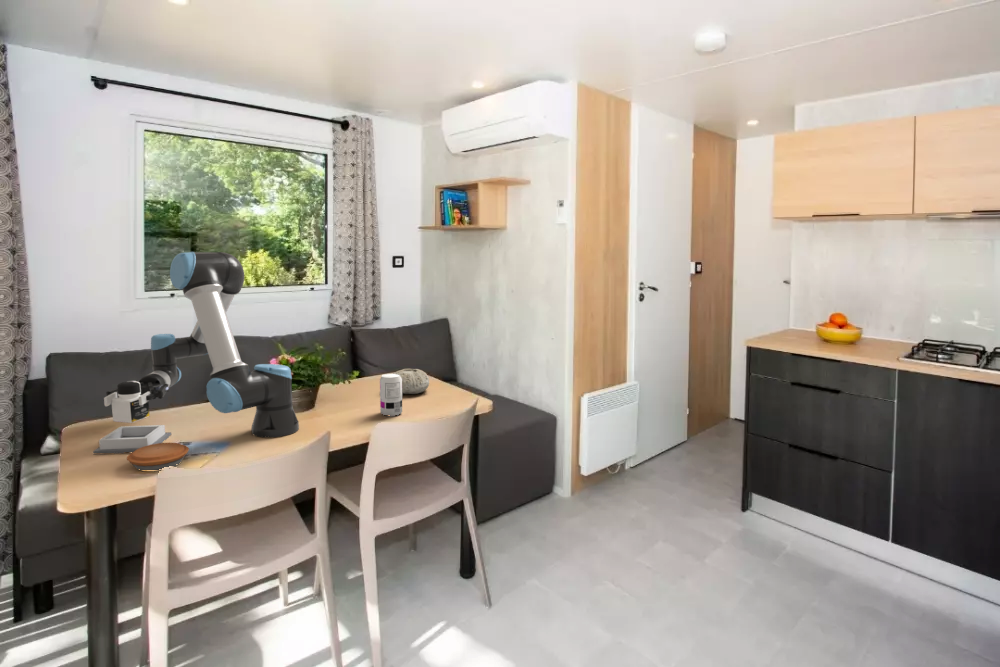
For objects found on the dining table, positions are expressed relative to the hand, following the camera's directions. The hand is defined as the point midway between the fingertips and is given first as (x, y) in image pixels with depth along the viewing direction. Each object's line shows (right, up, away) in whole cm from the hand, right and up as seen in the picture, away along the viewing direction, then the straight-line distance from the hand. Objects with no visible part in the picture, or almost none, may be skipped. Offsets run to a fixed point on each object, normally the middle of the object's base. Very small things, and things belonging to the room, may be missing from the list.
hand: (123, 401), depth 176 cm
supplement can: (+74, -10, +44) cm, 87 cm away
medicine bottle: (-1, -6, +6) cm, 9 cm away
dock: (-1, -14, +7) cm, 16 cm away
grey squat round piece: (+76, -5, +76) cm, 107 cm away
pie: (+17, -17, -9) cm, 26 cm away
